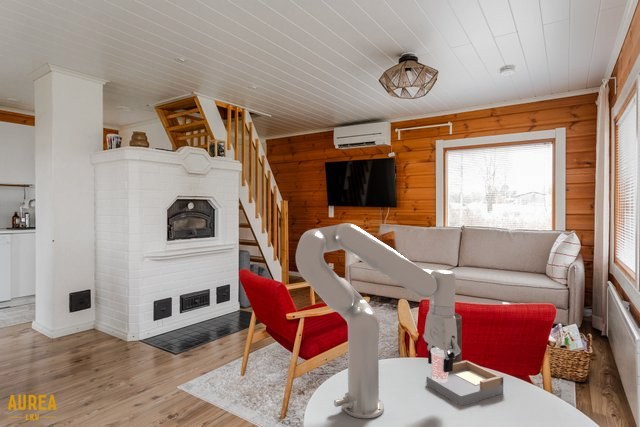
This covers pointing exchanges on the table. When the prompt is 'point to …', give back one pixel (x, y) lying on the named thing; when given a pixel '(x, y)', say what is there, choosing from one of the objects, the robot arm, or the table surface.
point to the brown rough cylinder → (458, 336)
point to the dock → (468, 383)
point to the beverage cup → (438, 365)
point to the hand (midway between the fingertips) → (440, 366)
